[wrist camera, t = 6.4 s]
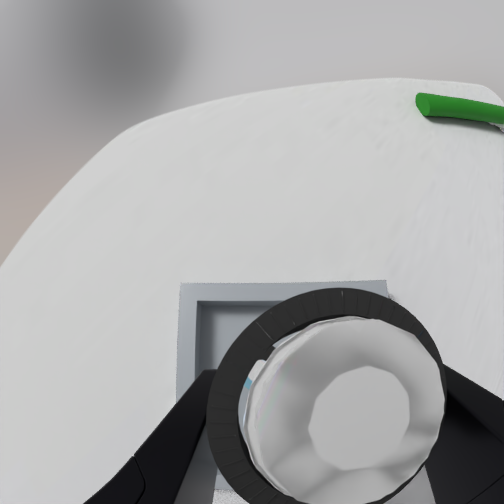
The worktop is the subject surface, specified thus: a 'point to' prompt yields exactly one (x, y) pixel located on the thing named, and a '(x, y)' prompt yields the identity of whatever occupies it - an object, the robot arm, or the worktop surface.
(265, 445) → the push button
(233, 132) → the worktop surface
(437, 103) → the green onion
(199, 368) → the tray
